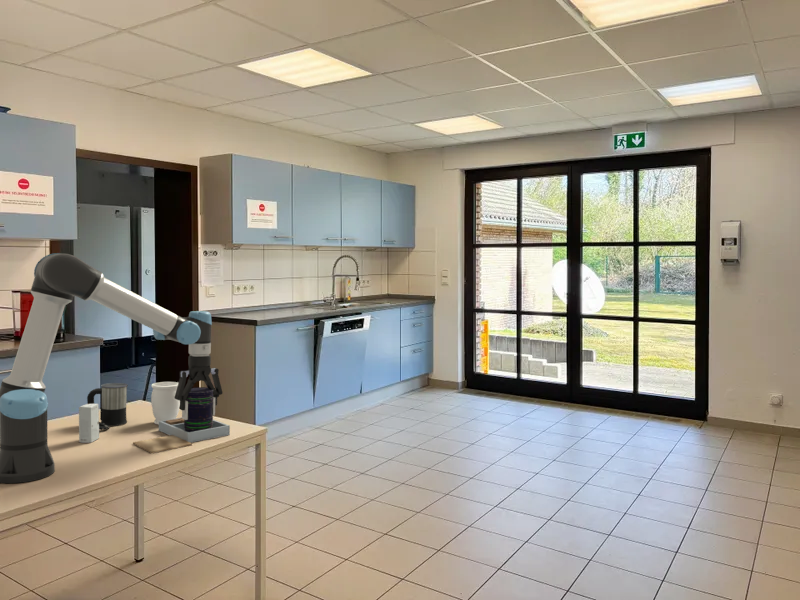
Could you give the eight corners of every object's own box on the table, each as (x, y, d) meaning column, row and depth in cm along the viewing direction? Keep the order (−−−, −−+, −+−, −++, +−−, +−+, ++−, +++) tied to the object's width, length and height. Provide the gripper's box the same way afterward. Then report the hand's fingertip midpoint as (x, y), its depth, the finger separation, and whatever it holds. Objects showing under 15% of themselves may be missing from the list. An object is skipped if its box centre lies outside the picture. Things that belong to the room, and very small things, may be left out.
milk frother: (125, 419, 241) (126, 381, 240) (131, 429, 228) (131, 389, 227) (85, 423, 234) (84, 384, 233) (88, 433, 220) (88, 392, 220)
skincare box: (91, 443, 209) (91, 407, 208) (78, 442, 209) (78, 407, 208) (99, 437, 215) (99, 403, 214) (86, 437, 215) (86, 403, 214)
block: (170, 433, 223) (170, 422, 223) (165, 431, 226) (165, 420, 226) (181, 431, 226) (181, 420, 226) (176, 429, 229) (176, 418, 228)
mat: (151, 453, 199) (151, 451, 199) (132, 444, 209) (132, 442, 209) (192, 445, 209) (192, 443, 209) (172, 436, 219) (172, 434, 219)
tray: (187, 443, 211) (187, 433, 211) (158, 430, 226) (158, 421, 226) (229, 434, 223) (229, 425, 223) (199, 423, 238) (199, 414, 238)
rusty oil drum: (177, 432, 220) (178, 390, 219) (198, 426, 228) (199, 386, 228) (198, 436, 215) (199, 393, 214) (218, 430, 224) (219, 389, 223)
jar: (186, 422, 239) (186, 383, 238) (163, 427, 231) (163, 387, 230) (168, 417, 245) (168, 380, 244) (145, 423, 236) (145, 384, 235)
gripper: (174, 358, 210) (173, 423, 211) (233, 353, 226) (232, 414, 227) (164, 355, 215) (163, 419, 216) (222, 351, 231) (221, 410, 232)
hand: (198, 416), depth 221 cm, fingers closed on rusty oil drum, 10 cm apart
